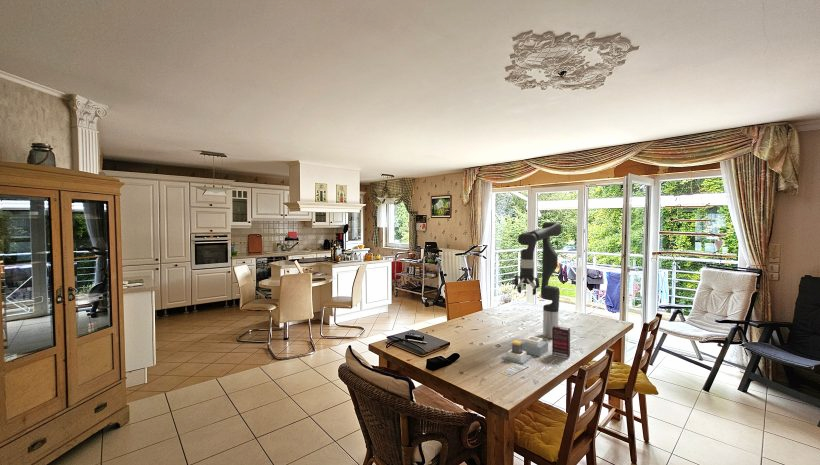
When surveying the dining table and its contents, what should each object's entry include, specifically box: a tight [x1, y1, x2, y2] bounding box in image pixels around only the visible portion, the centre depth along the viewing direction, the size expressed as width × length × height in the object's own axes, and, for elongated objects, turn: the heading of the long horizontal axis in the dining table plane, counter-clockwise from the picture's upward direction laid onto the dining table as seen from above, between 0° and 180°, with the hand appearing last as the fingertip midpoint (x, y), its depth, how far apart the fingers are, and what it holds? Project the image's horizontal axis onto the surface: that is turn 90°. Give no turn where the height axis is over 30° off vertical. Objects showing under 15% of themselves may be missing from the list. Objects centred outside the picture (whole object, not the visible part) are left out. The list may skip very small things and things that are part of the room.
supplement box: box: [551, 325, 571, 359], centre depth 185 cm, size 9×5×16 cm, turn 53°
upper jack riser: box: [520, 335, 549, 357], centre depth 192 cm, size 12×12×7 cm
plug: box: [511, 339, 522, 354], centre depth 181 cm, size 4×4×8 cm
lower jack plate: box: [501, 348, 533, 365], centre depth 181 cm, size 12×12×4 cm
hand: (526, 293), depth 197 cm, fingers open, 8 cm apart
